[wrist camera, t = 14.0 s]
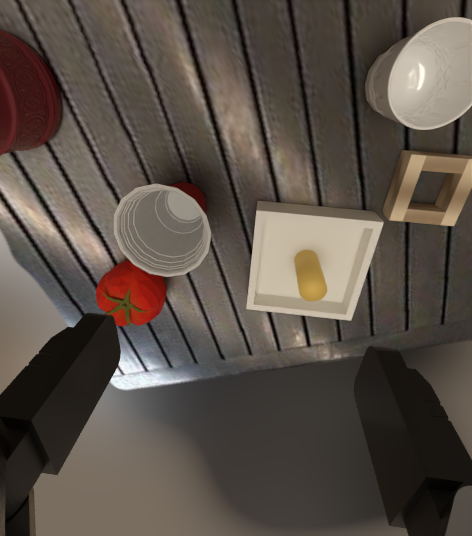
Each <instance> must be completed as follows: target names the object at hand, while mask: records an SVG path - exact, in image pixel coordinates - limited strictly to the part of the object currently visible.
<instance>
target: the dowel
mask: <svg viewBox="0 0 472 536" xmlns="http://www.w3.org/2000/svg"><path fill="white" fill-rule="evenodd" d="M294 263H295V270H296V276H297V282H298V289H299V294H300V296H301V297H302V298H303V299H304V300H306V301H311V302H314V301H318V300H321V299H322V298H323V297H324V296H325V295H326V293H327V285H326V282H325V278H324V275H323V272H322V269H321V265H320V262H319V259H318V256H317V254H316V253H315V252H314V251H312V250H302V251H300V252H299V253H297V255H296V256H295V259H294Z"/></svg>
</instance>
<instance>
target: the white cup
mask: <svg viewBox="0 0 472 536" xmlns="http://www.w3.org/2000/svg"><path fill="white" fill-rule="evenodd" d="M365 93H366V100H367V102H368V103H369V104H370V106H371V107H372V109H373V110H374V111H376V112H378V113H380V114H381V115H383V116H384V117H387V118H389V119H391V120H392V121H395V122H398V123H401V124H403V125H405V126H408V127H410V128H414V129H419V130H429V129H435V128H438V127H441V126H444V125H446V124H448V123H450V122H452V121H454V120H456V119H457V118H458V117H460V116H461V115H462V114H464V113H465V112H466V111H467V110H468V109H469V108H470V107H471V106H472V20H470V19H466V18H460V17H453V18H446V19H442V20H439V21H436V22H434V23H432V24H430V25H428V26H426V27H425V28H423V29H421V30H419V31H417V32H415V33H413V34H412V35H410V36H408V37H406V38H404V39H403V40H401V41H399V42H398V43H396V44H395V45H393V46H392V47H391V48H390V49H388V50H387V51H385V52H384V53H382V54H381V55H379V56H378V58H377V59H376V61H375V62H374V63H373V65H372V66H371V68H370V69H369V71H368V75H367V78H366V82H365Z"/></svg>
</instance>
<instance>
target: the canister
mask: <svg viewBox="0 0 472 536" xmlns="http://www.w3.org/2000/svg"><path fill="white" fill-rule="evenodd" d="M61 116H62V104H61V97H60V93H59V89H58V86H57V84H56V81H55V79H54V77H53V75H52V73H51V71H50V69H49V68H48V66H47V65H46V63H45V62H44V61H43V59H42V58H41V57H40V56H39V55H38V54H37V53H36V52H35V51H34V50H33V49H32V48H31V47H30V46H29V45H27V44H26V43H25V42H23V41H22V40H20V39H18V38H17V37H15V36H13V35H11V34H9V33H7V32H5V31H3V30H1V29H0V156H1V155H2V154H5V153H9V152H14V151H23V150H29V149H33V148H37V147H39V146H41V145H43V144H44V143H45V142H47V141H48V140H50V139H51V138H52V137H53V136H54V135H55V133H56V132H57V130H58V128H59V125H60V122H61Z"/></svg>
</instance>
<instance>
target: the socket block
mask: <svg viewBox="0 0 472 536" xmlns="http://www.w3.org/2000/svg"><path fill="white" fill-rule="evenodd" d="M421 170H422V171H434V172H446V173H447V176H446V178H445V181H444V183H443V185H442V188H441V190H440V193H439V195H438V198H437V200H436V202H435V205H433V204H421V203H410V200H411V197H412V194H413V191H414V189H415V186H416V183H417V180H418V178H419V175H420V172H421ZM471 188H472V156H470V155H458V154H445V153H433V152H420V151H408V150H402V151H401V155H400V158H399V161H398V164H397V167H396V170H395V173H394V176H393V179H392V182H391V185H390V189H389V192H388V195H387V198H386V201H385V204H384V207H383V210H382V213H383V214H384V215H385V216H386V217H387V218H388V219H389V220H393V221H404V222H415V223H426V224H436V225H447V226H454V225H455V223H456V220H457V218H458V216H459V214H460V212H461V210H462V208H463V205H464V203H465V201H466V199H467V197H468V195H469V192H470V190H471Z"/></svg>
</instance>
